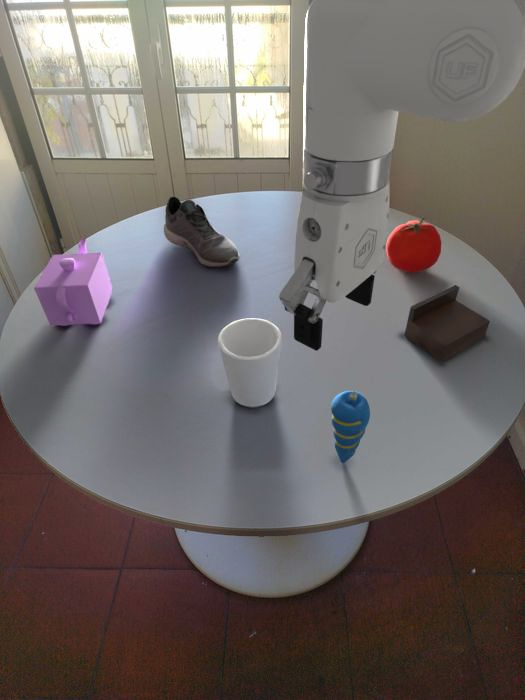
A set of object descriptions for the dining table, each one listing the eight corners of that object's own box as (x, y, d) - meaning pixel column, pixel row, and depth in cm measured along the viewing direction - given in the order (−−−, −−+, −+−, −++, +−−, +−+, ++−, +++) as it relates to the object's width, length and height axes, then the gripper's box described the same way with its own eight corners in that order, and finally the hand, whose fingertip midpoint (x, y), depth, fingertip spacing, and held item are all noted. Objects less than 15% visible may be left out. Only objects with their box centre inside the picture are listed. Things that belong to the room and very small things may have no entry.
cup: (244, 366, 85) (240, 310, 77) (292, 385, 82) (293, 328, 73) (213, 402, 79) (205, 346, 71) (263, 424, 75) (261, 368, 67)
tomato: (431, 255, 111) (441, 211, 104) (440, 282, 103) (452, 237, 95) (380, 254, 112) (386, 210, 105) (384, 281, 104) (392, 236, 96)
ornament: (321, 469, 69) (327, 401, 59) (331, 442, 72) (338, 373, 62) (356, 480, 67) (368, 412, 57) (364, 452, 71) (377, 383, 61)
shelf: (484, 337, 89) (495, 307, 84) (440, 362, 85) (449, 332, 80) (447, 313, 95) (455, 284, 90) (404, 335, 90) (410, 306, 86)
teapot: (99, 337, 93) (81, 284, 84) (49, 339, 93) (25, 287, 84) (119, 280, 108) (105, 231, 99) (75, 282, 108) (58, 233, 99)
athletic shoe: (216, 279, 107) (210, 231, 99) (160, 238, 122) (151, 193, 114) (251, 263, 111) (248, 216, 103) (192, 225, 126) (186, 182, 118)
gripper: (323, 216, 34) (314, 380, 46) (431, 147, 44) (402, 297, 55) (247, 191, 38) (257, 348, 49) (362, 132, 47) (348, 275, 59)
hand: (333, 321), depth 52 cm, fingers open, 9 cm apart
